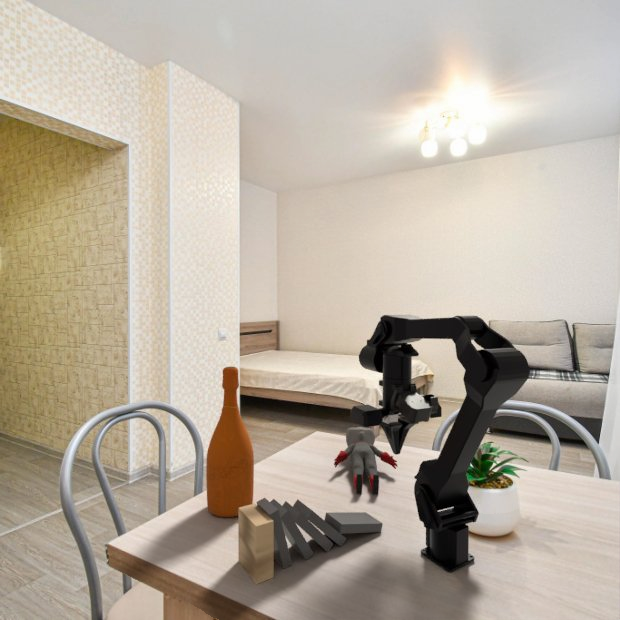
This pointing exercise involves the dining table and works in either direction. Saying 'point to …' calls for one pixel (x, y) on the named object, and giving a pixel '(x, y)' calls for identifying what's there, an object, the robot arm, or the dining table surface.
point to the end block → (256, 542)
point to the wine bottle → (229, 456)
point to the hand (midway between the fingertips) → (396, 453)
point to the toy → (363, 456)
